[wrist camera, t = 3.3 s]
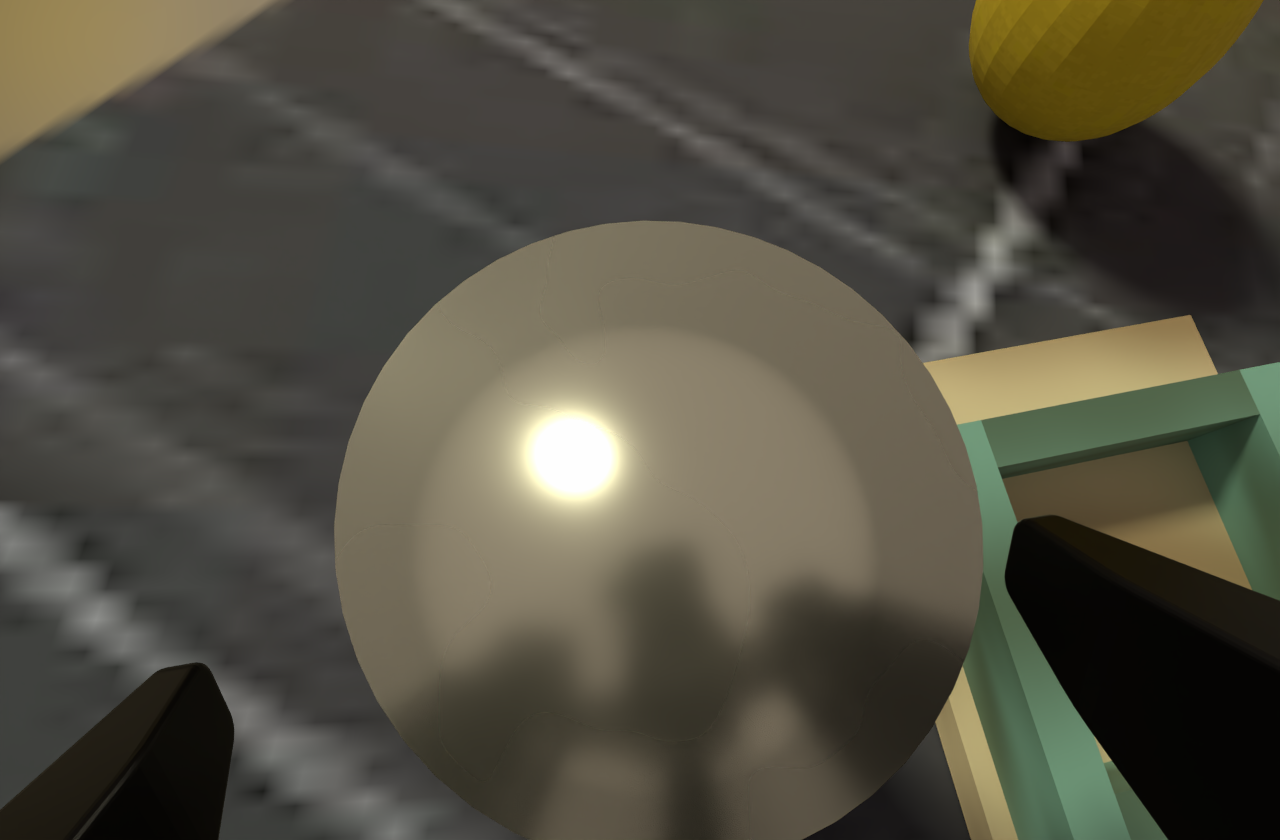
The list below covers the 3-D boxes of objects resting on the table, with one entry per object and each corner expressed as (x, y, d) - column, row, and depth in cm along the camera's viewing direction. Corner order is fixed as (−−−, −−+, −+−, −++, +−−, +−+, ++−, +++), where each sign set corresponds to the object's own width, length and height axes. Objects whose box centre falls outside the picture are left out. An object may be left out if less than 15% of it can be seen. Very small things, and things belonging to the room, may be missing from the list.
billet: (726, 696, 16) (1078, 770, 5) (520, 745, 16) (374, 961, 4) (680, 496, 18) (874, 185, 6) (487, 534, 17) (305, 267, 6)
